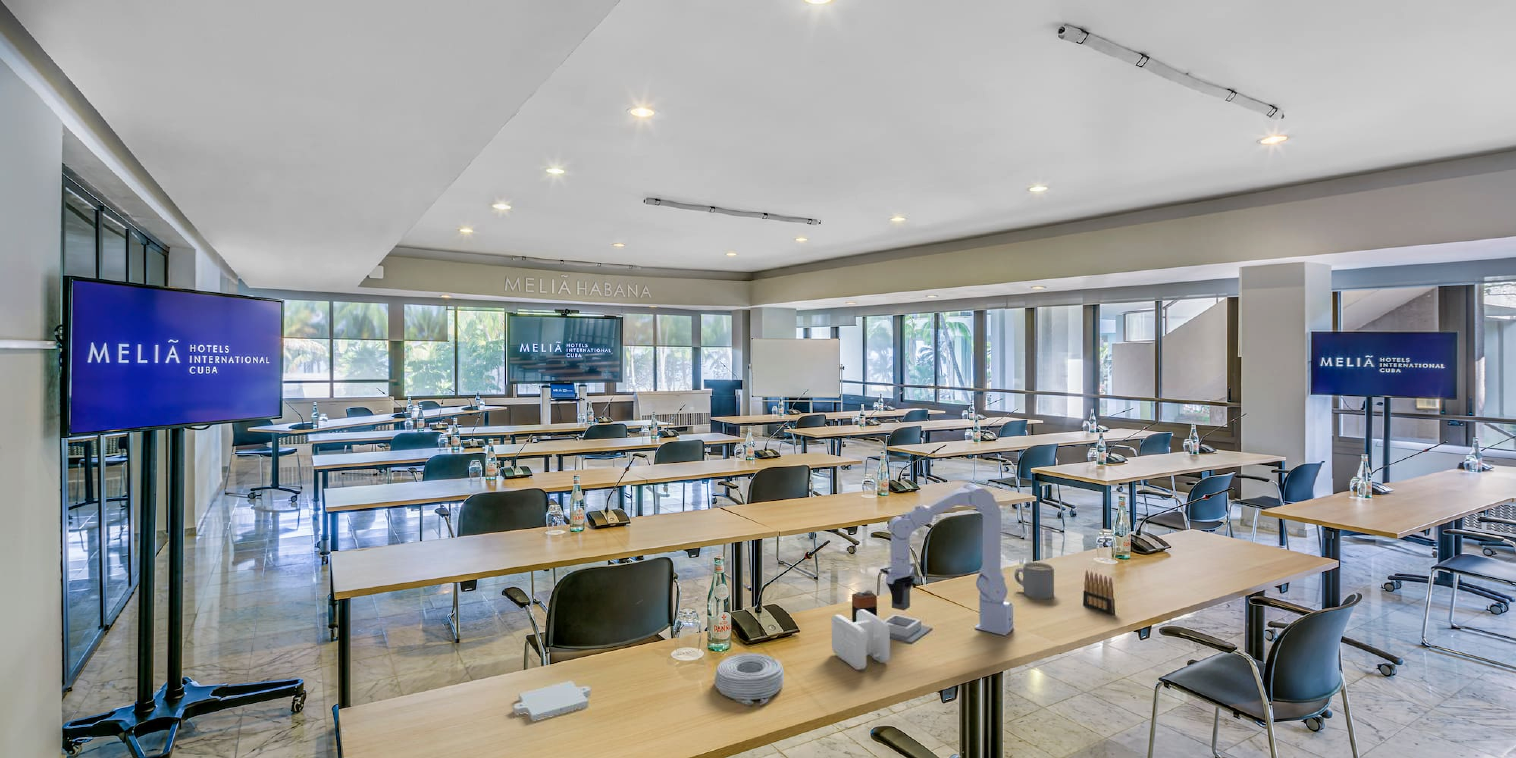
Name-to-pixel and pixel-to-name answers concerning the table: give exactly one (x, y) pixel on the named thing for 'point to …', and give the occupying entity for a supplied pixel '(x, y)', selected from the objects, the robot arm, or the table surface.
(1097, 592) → the ammunition clip
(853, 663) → the cable organizer
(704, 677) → the table surface
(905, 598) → the block
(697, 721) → the table surface
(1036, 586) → the coffee mug
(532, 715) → the mounting plate
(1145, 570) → the table surface
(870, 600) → the battery
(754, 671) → the cable
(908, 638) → the end holder
